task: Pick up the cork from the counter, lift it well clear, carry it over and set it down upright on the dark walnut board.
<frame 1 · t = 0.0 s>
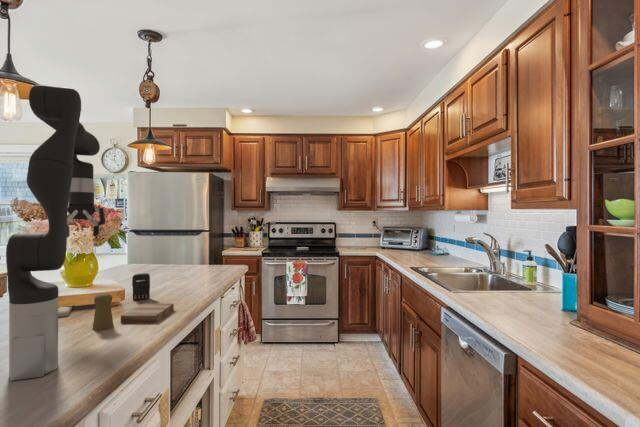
hand: (81, 236, 127), 29 cm above the countertop, tool pointing down, fingers open, 8 cm apart
battery charger: (141, 300, 155), on the countertop
washcloth: (53, 314, 135), on the countertop
cork: (103, 328, 118), on the countertop
walnut board: (148, 315, 131), on the countertop
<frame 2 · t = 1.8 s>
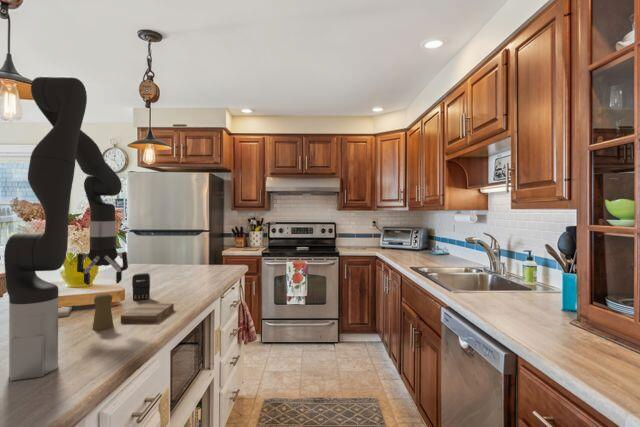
hand: (103, 283, 118), 14 cm above the countertop, tool pointing down, fingers open, 8 cm apart
nothing on the countertop moved.
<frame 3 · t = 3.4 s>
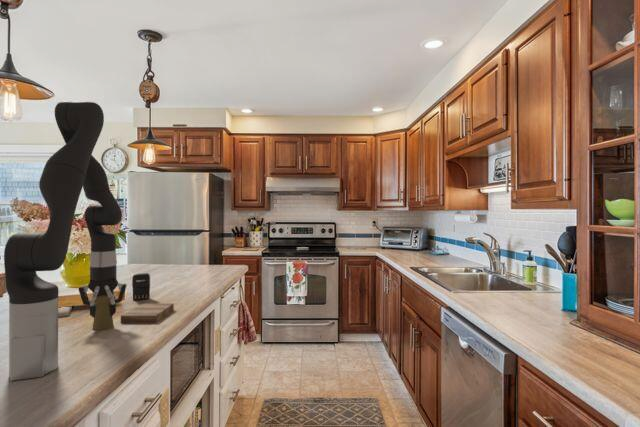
hand: (103, 315, 118), 4 cm above the countertop, tool pointing down, fingers closed on cork, 4 cm apart
cork: (103, 328, 118), on the countertop, touching gripper
everything else where it was.
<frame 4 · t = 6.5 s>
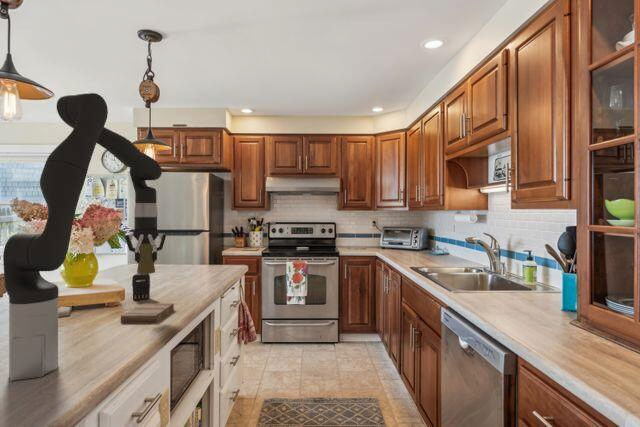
hand: (146, 262, 130), 20 cm above the countertop, tool pointing down, fingers closed on cork, 4 cm apart
cork: (146, 273, 130), point 16 cm above the countertop, touching gripper
everything else where it was.
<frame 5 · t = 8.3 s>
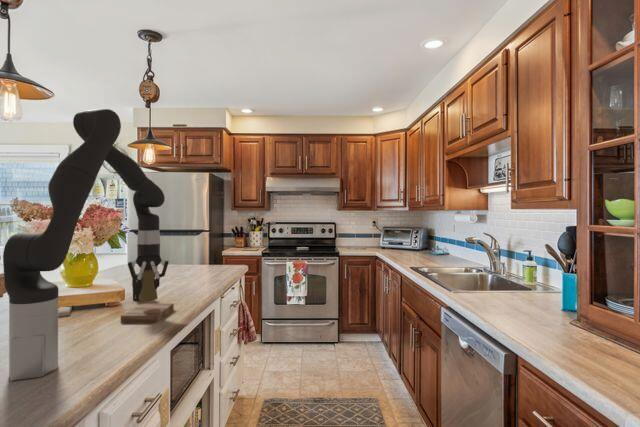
hand: (148, 288, 131), 10 cm above the countertop, tool pointing down, fingers closed on cork, 4 cm apart
cork: (148, 299, 131), point 6 cm above the countertop, touching gripper
everything else where it was.
when the fingers open (8 cm above the countertop, at t = 9.7 s): cork drops 1 cm, resting on walnut board.
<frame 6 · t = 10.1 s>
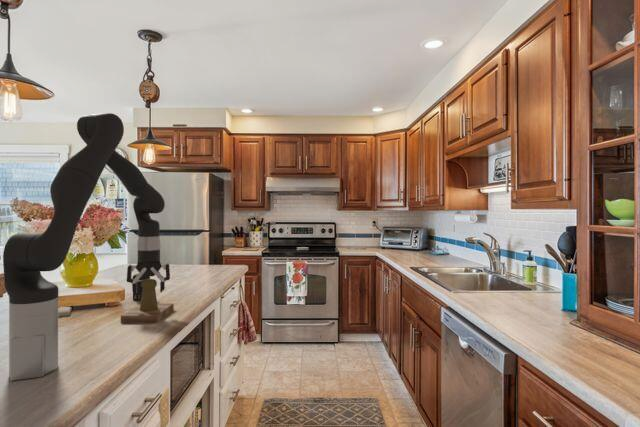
hand: (148, 292, 131), 9 cm above the countertop, tool pointing down, fingers open, 8 cm apart
cork: (148, 309, 131), point 2 cm above the countertop, touching walnut board
everything else where it was.
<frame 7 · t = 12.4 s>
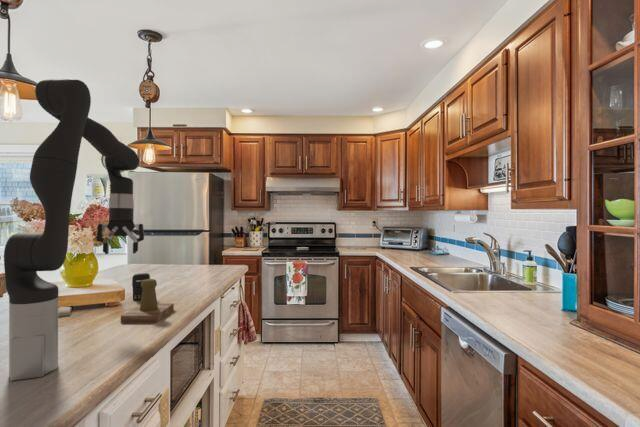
hand: (120, 253, 124), 24 cm above the countertop, tool pointing down, fingers open, 8 cm apart
nothing on the countertop moved.
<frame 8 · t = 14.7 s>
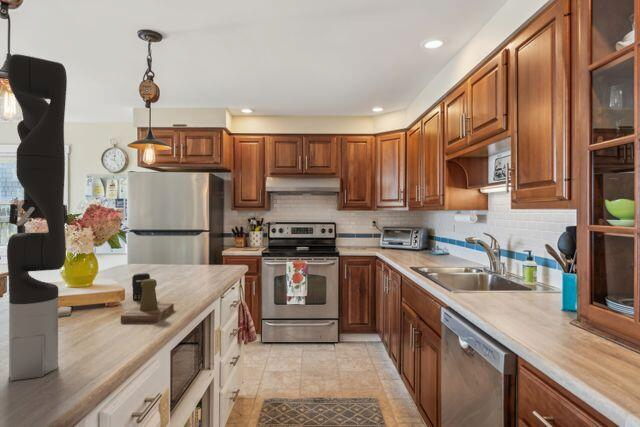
hand: (39, 237, 110), 30 cm above the countertop, tool pointing down, fingers open, 8 cm apart
nothing on the countertop moved.
at the end: cork inside the target area on the walnut board (0.1 cm from its centre), point 2.3 cm above the walnut board's base; cork tilted 0°; the gripper is holding nothing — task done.
